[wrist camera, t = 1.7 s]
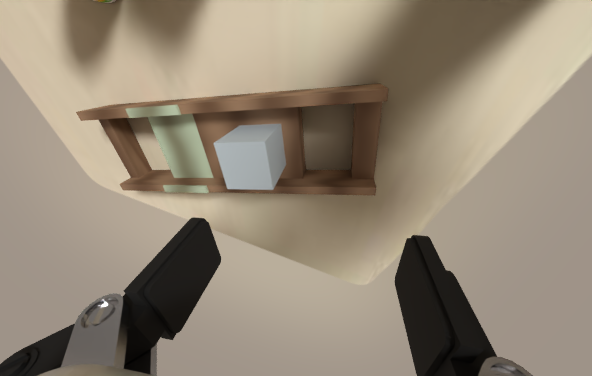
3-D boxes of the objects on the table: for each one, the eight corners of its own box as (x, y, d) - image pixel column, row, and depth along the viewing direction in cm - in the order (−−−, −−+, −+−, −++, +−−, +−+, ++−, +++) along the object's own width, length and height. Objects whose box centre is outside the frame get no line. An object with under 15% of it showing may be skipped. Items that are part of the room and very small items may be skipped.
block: (280, 123, 23) (264, 141, 18) (286, 164, 26) (273, 189, 21) (239, 125, 24) (213, 143, 19) (248, 164, 27) (227, 189, 22)
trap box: (380, 83, 22) (389, 89, 18) (370, 176, 27) (375, 196, 23) (110, 104, 29) (73, 112, 25) (146, 175, 34) (121, 191, 30)
